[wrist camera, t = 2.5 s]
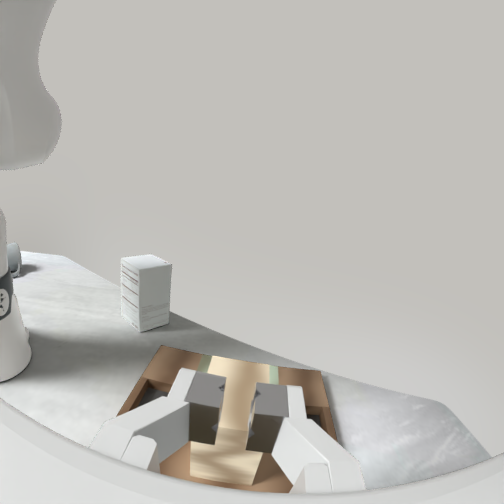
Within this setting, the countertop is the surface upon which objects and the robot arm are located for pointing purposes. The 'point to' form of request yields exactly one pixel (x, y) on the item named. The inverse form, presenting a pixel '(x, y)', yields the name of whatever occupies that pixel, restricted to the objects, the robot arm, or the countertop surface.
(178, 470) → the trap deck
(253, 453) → the birch block
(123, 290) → the supplement box
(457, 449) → the countertop surface
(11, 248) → the ceramic mug
